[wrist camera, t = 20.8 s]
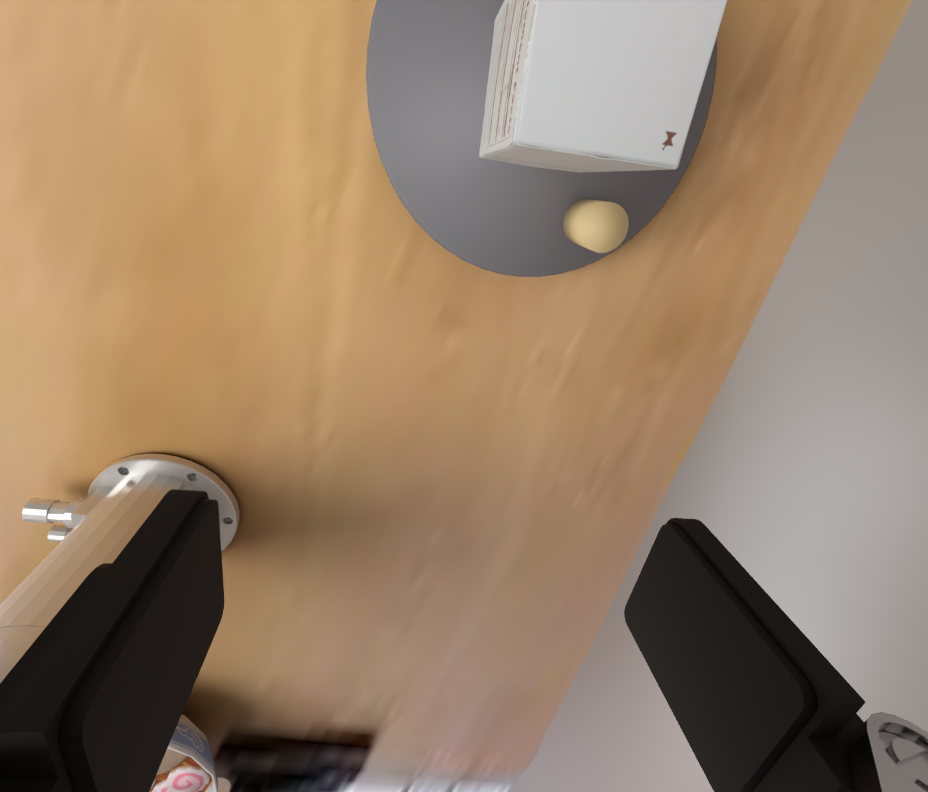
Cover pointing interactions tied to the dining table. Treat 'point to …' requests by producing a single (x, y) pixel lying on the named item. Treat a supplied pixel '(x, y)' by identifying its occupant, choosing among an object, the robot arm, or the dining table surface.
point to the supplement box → (596, 82)
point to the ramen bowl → (186, 762)
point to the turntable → (487, 181)
